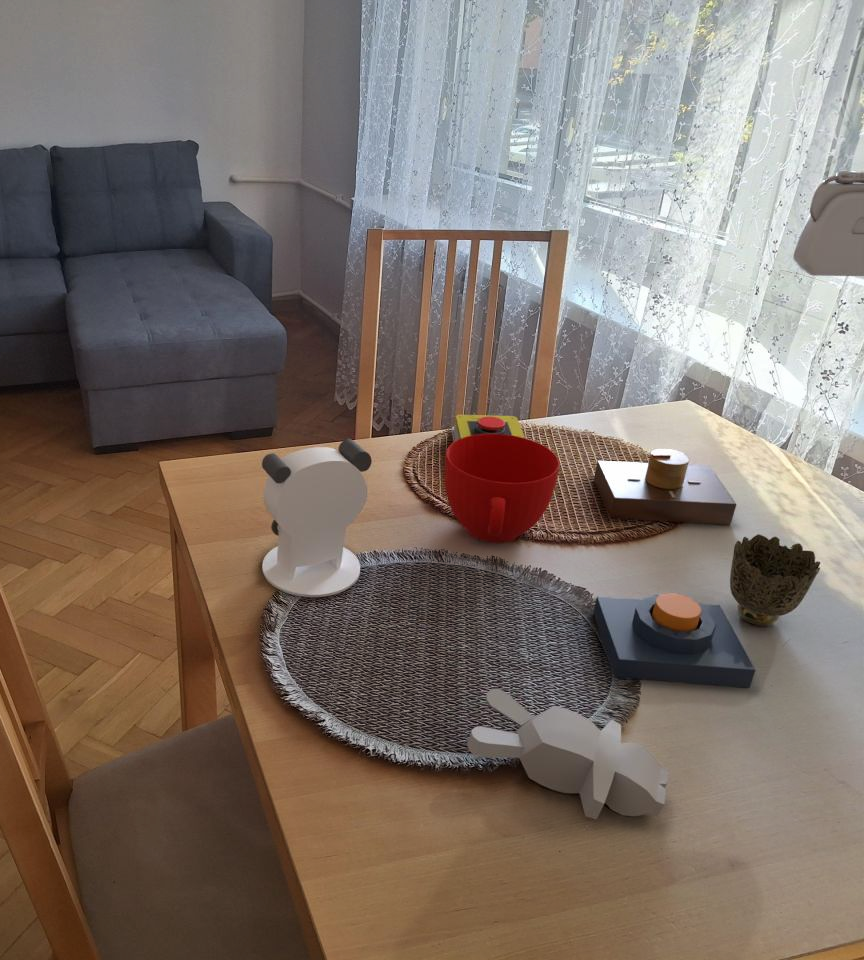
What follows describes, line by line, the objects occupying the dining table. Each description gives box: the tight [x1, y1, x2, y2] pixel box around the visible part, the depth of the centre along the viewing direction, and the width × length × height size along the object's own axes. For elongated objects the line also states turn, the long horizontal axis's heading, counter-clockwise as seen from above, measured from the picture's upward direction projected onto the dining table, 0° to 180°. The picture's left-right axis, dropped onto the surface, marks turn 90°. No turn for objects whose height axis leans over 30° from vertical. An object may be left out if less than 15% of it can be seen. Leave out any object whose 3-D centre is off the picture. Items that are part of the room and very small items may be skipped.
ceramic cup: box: [444, 434, 561, 544], centre depth 102 cm, size 13×17×10 cm
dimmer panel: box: [593, 460, 737, 526], centre depth 110 cm, size 14×10×3 cm
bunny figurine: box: [466, 688, 670, 820], centre depth 71 cm, size 10×5×15 cm
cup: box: [729, 533, 821, 627], centre depth 88 cm, size 8×7×8 cm
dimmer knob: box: [645, 448, 690, 489], centre depth 108 cm, size 4×4×4 cm
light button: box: [652, 592, 701, 632], centre depth 84 cm, size 4×4×2 cm
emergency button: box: [451, 414, 526, 442], centre depth 123 cm, size 9×4×15 cm
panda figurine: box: [261, 438, 373, 598], centre depth 97 cm, size 12×11×15 cm
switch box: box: [592, 594, 756, 689], centre depth 85 cm, size 12×10×4 cm
